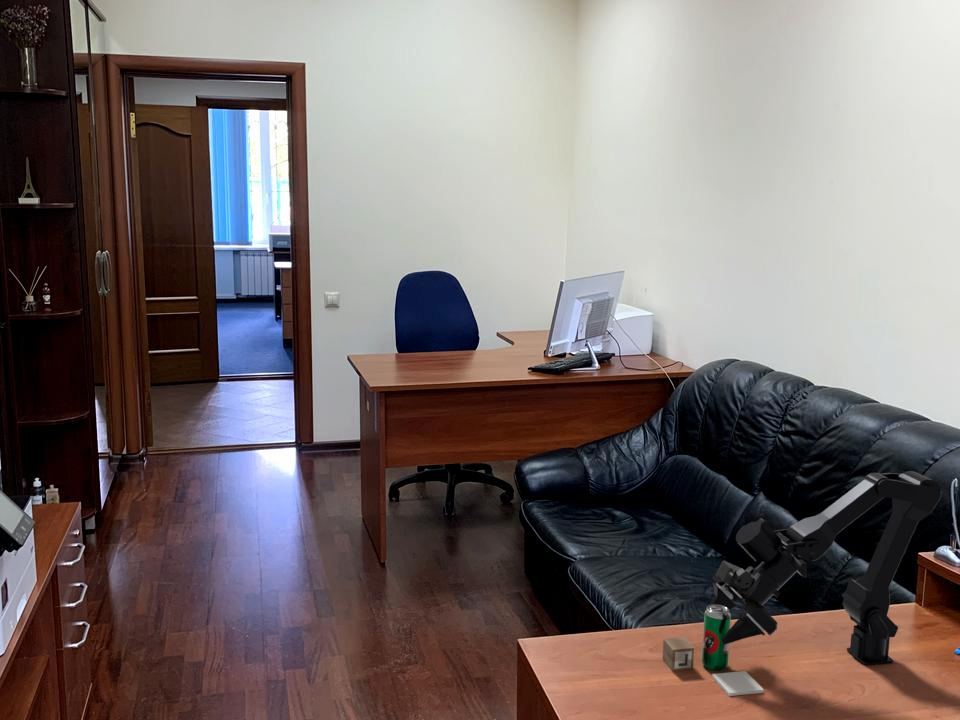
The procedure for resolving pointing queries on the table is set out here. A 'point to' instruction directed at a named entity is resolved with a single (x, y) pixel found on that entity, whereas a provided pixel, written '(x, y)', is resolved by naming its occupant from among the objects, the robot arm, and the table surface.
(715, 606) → the soda can
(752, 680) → the coaster
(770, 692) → the table surface
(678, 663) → the letter cube
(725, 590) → the robot arm
